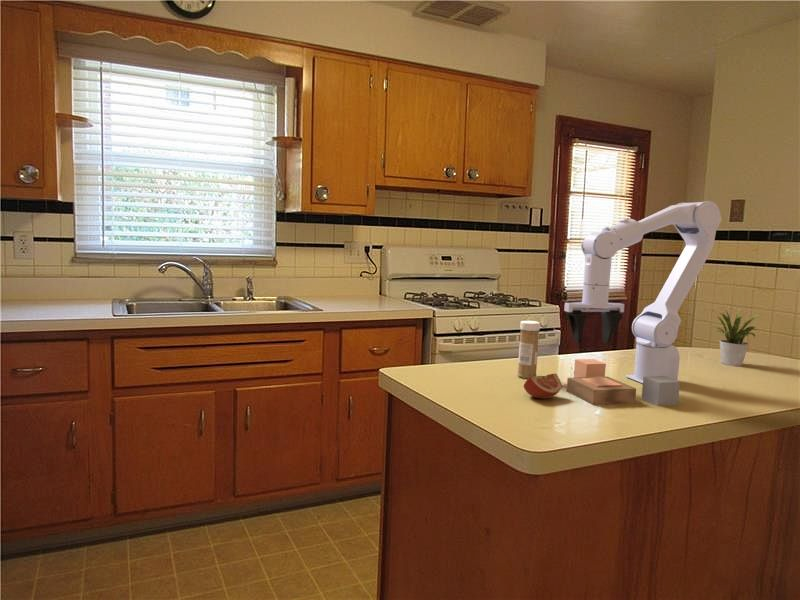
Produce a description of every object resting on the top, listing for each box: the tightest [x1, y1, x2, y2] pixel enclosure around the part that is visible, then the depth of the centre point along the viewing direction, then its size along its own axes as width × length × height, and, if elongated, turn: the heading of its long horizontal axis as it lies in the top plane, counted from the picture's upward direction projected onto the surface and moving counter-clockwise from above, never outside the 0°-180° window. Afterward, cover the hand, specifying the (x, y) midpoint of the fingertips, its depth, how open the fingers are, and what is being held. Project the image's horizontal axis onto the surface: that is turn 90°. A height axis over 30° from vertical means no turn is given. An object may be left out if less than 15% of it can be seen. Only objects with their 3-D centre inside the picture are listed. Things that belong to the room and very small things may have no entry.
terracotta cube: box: [573, 358, 607, 378], centre depth 138 cm, size 5×5×5 cm
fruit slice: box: [523, 373, 563, 399], centre depth 123 cm, size 8×7×5 cm
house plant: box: [706, 306, 761, 367], centre depth 165 cm, size 14×14×16 cm
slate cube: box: [641, 376, 681, 407], centre depth 123 cm, size 5×5×5 cm
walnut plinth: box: [566, 375, 637, 406], centre depth 125 cm, size 10×10×4 cm
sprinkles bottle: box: [517, 320, 541, 380], centre depth 140 cm, size 5×5×14 cm
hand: (591, 342), depth 137 cm, fingers open, 7 cm apart
